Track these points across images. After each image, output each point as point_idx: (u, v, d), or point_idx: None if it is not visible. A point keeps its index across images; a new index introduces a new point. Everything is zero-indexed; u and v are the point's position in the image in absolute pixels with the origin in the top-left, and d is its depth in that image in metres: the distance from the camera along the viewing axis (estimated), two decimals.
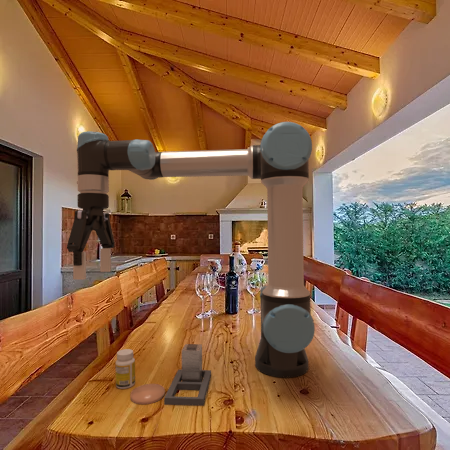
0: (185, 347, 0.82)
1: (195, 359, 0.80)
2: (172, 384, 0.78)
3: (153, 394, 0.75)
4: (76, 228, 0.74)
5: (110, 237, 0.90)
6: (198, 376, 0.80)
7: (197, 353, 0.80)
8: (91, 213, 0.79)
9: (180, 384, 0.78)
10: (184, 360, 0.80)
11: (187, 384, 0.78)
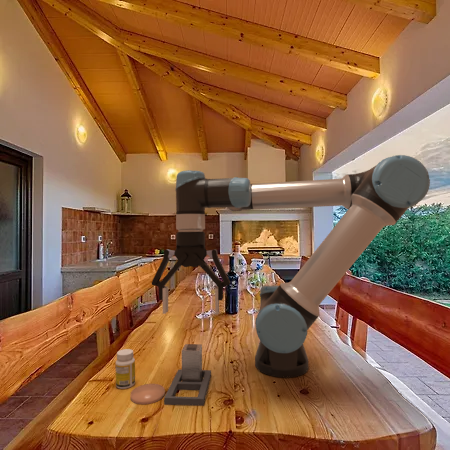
0: (185, 347, 0.82)
1: (195, 359, 0.80)
2: (172, 384, 0.78)
3: (153, 394, 0.75)
4: None
5: (221, 276, 0.81)
6: (198, 376, 0.80)
7: (197, 353, 0.80)
8: (177, 252, 0.82)
9: (180, 384, 0.78)
10: (184, 360, 0.80)
11: (187, 384, 0.78)
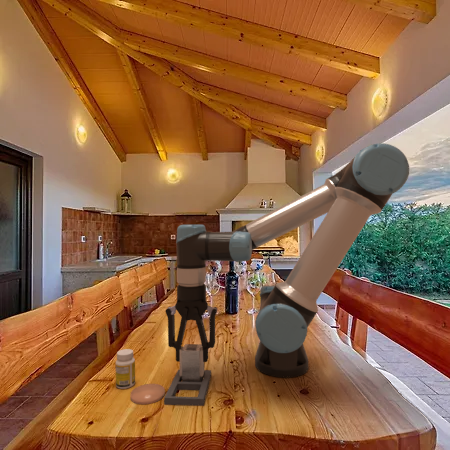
0: (185, 347, 0.82)
1: (195, 359, 0.80)
2: (172, 384, 0.78)
3: (153, 394, 0.75)
4: None
5: None
6: (198, 376, 0.80)
7: (197, 353, 0.80)
8: (178, 305, 0.81)
9: (180, 384, 0.78)
10: (184, 360, 0.80)
11: (187, 384, 0.78)
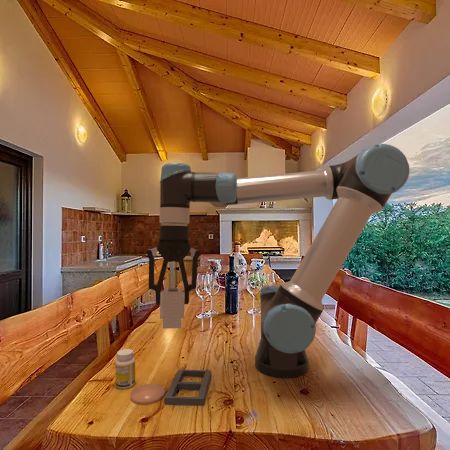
0: (166, 290, 0.80)
1: (178, 300, 0.78)
2: (172, 384, 0.78)
3: (153, 394, 0.75)
4: None
5: (192, 278, 0.80)
6: (180, 317, 0.78)
7: (180, 294, 0.78)
8: (160, 246, 0.79)
9: (180, 384, 0.78)
10: (166, 302, 0.78)
11: (187, 384, 0.78)
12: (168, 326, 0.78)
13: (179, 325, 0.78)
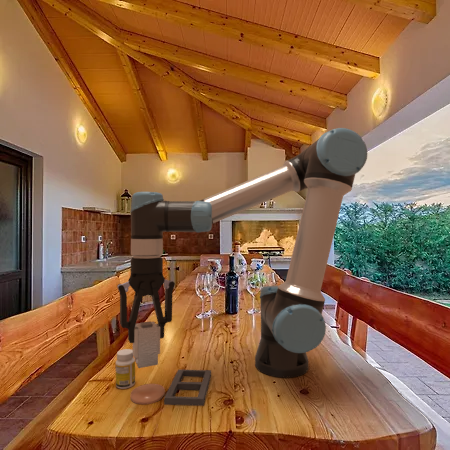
0: (139, 326, 0.75)
1: (154, 336, 0.75)
2: (172, 384, 0.78)
3: (153, 394, 0.75)
4: (120, 305, 0.73)
5: (167, 310, 0.77)
6: (156, 353, 0.75)
7: (156, 329, 0.75)
8: (133, 281, 0.74)
9: (180, 384, 0.78)
10: (142, 339, 0.73)
11: (187, 384, 0.78)
12: (144, 365, 0.73)
13: (156, 362, 0.75)
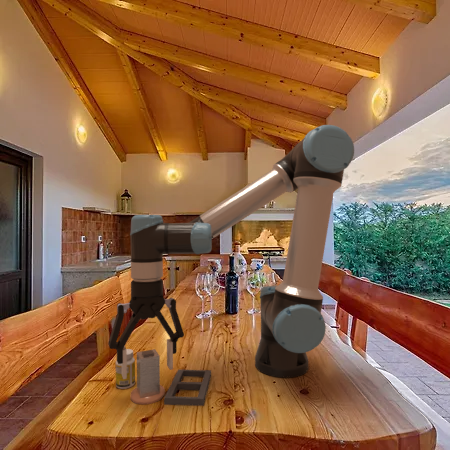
0: (140, 355, 0.75)
1: (155, 365, 0.74)
2: (172, 384, 0.78)
3: None
4: (114, 324, 0.73)
5: (176, 327, 0.78)
6: (158, 383, 0.75)
7: (157, 358, 0.75)
8: (134, 304, 0.74)
9: (180, 384, 0.78)
10: (143, 369, 0.73)
11: (187, 384, 0.78)
12: (146, 394, 0.73)
13: (158, 391, 0.75)
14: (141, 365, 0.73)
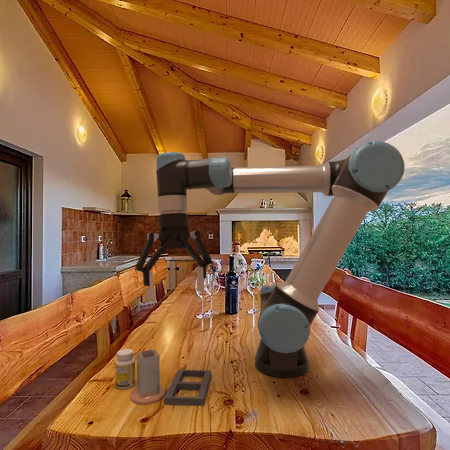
0: (140, 355, 0.75)
1: (155, 365, 0.74)
2: (172, 384, 0.78)
3: None
4: (143, 250, 0.78)
5: (204, 255, 0.85)
6: (158, 383, 0.75)
7: (157, 358, 0.75)
8: (163, 234, 0.80)
9: (180, 384, 0.78)
10: (143, 369, 0.73)
11: (187, 384, 0.78)
12: (146, 394, 0.73)
13: (158, 391, 0.75)
14: (141, 365, 0.73)
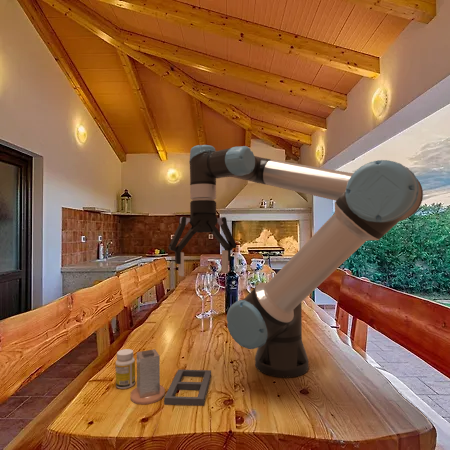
0: (140, 355, 0.75)
1: (155, 365, 0.74)
2: (172, 384, 0.78)
3: None
4: (176, 232, 0.88)
5: (229, 240, 0.94)
6: (158, 383, 0.75)
7: (157, 358, 0.75)
8: (194, 218, 0.89)
9: (180, 384, 0.78)
10: (143, 369, 0.73)
11: (187, 384, 0.78)
12: (146, 394, 0.73)
13: (158, 391, 0.75)
14: (141, 365, 0.73)
